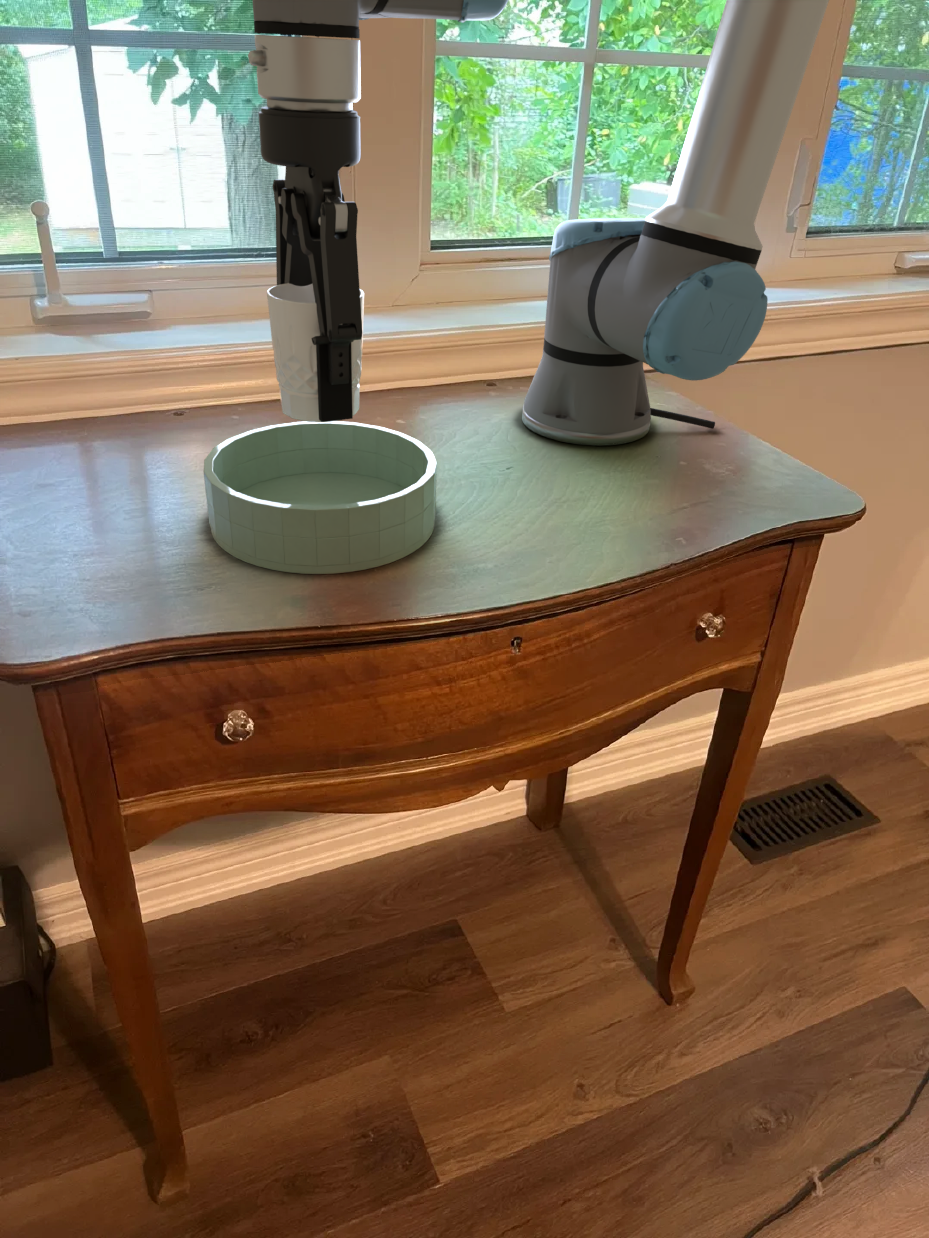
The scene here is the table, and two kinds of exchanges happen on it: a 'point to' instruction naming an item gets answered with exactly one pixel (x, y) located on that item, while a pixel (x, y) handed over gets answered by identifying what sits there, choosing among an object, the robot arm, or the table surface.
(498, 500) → the table surface
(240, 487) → the bowl
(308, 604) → the table surface
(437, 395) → the table surface
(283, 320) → the white cup
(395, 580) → the table surface
